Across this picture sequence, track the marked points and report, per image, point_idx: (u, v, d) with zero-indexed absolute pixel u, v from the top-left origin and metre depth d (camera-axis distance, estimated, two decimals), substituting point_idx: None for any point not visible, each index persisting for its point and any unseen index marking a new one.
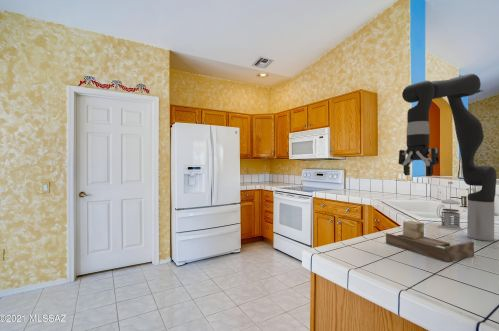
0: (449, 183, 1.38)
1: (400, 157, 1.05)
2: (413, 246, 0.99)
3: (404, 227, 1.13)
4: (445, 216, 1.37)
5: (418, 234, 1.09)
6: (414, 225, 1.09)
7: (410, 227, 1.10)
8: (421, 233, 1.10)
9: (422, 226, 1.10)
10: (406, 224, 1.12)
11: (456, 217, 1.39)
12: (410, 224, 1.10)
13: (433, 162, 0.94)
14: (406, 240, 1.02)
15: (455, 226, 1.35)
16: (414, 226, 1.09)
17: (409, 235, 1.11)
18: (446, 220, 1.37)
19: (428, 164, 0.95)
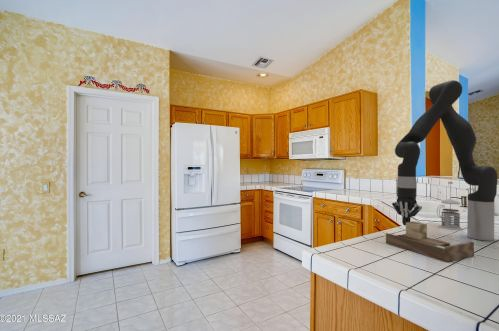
0: (449, 183, 1.38)
1: (396, 208, 1.18)
2: (413, 246, 0.99)
3: (407, 228, 1.12)
4: (445, 216, 1.37)
5: (421, 235, 1.08)
6: (417, 226, 1.07)
7: (413, 228, 1.09)
8: (424, 234, 1.09)
9: (425, 227, 1.09)
10: (409, 225, 1.11)
11: (456, 217, 1.39)
12: (413, 225, 1.09)
13: (410, 215, 1.12)
14: (406, 240, 1.02)
15: (455, 226, 1.35)
16: (417, 227, 1.08)
17: (412, 236, 1.09)
18: (446, 220, 1.37)
19: (406, 216, 1.14)
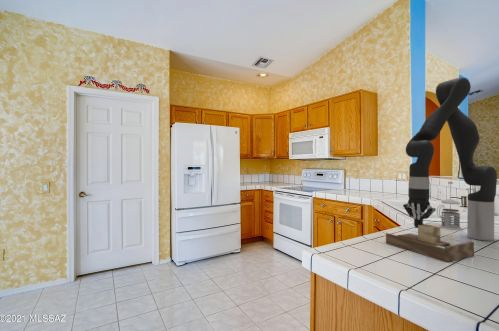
0: (449, 183, 1.38)
1: (407, 210, 1.13)
2: (413, 246, 0.99)
3: (419, 231, 1.06)
4: (445, 216, 1.37)
5: (434, 238, 1.03)
6: (430, 229, 1.02)
7: (426, 231, 1.04)
8: (437, 237, 1.03)
9: (438, 230, 1.04)
10: (421, 228, 1.06)
11: (456, 217, 1.39)
12: (426, 228, 1.04)
13: (423, 217, 1.07)
14: (406, 240, 1.02)
15: (455, 226, 1.35)
16: (430, 230, 1.02)
17: (425, 239, 1.04)
18: (446, 220, 1.37)
19: (418, 218, 1.08)
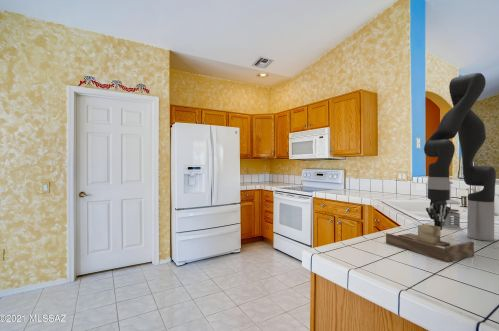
0: None
1: None
2: (413, 246, 0.99)
3: (419, 231, 1.06)
4: None
5: (434, 238, 1.03)
6: (430, 229, 1.02)
7: (426, 231, 1.04)
8: (437, 237, 1.03)
9: (438, 230, 1.04)
10: (421, 228, 1.05)
11: (456, 217, 1.39)
12: (426, 228, 1.04)
13: None
14: (406, 240, 1.02)
15: (455, 226, 1.35)
16: (430, 230, 1.02)
17: (425, 239, 1.04)
18: (446, 220, 1.37)
19: None
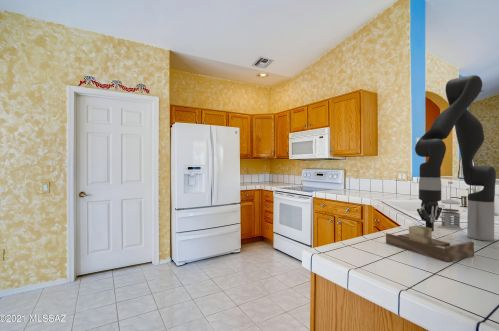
0: (449, 183, 1.38)
1: None
2: (413, 246, 0.99)
3: (410, 232, 1.04)
4: (445, 216, 1.37)
5: (425, 240, 1.00)
6: (421, 230, 1.00)
7: (417, 232, 1.02)
8: (429, 239, 1.01)
9: (429, 232, 1.01)
10: (412, 229, 1.03)
11: (456, 217, 1.39)
12: (417, 229, 1.02)
13: None
14: (406, 240, 1.02)
15: (455, 226, 1.35)
16: (421, 231, 1.00)
17: None
18: (446, 220, 1.37)
19: None
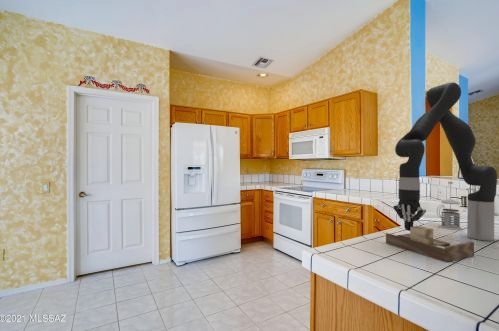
0: (449, 183, 1.38)
1: (398, 212, 1.09)
2: (413, 246, 0.99)
3: (411, 233, 1.03)
4: (445, 216, 1.37)
5: (427, 240, 0.99)
6: (422, 231, 0.99)
7: (418, 233, 1.01)
8: (430, 240, 1.00)
9: (431, 232, 1.00)
10: (414, 230, 1.02)
11: (456, 217, 1.39)
12: (418, 230, 1.01)
13: (413, 219, 1.03)
14: (406, 240, 1.02)
15: (455, 226, 1.35)
16: (422, 232, 0.99)
17: None
18: (446, 220, 1.37)
19: (408, 220, 1.05)
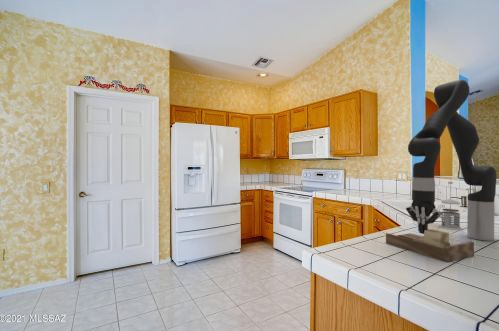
0: (449, 183, 1.38)
1: (411, 214, 1.04)
2: (413, 246, 0.99)
3: (425, 237, 0.98)
4: (445, 216, 1.37)
5: (442, 245, 0.94)
6: (438, 235, 0.94)
7: (433, 237, 0.95)
8: (446, 244, 0.95)
9: (447, 236, 0.95)
10: (428, 233, 0.97)
11: (456, 217, 1.39)
12: (433, 233, 0.95)
13: (427, 222, 0.98)
14: (406, 240, 1.02)
15: (455, 226, 1.35)
16: (438, 236, 0.94)
17: None
18: (446, 220, 1.37)
19: (423, 223, 0.99)
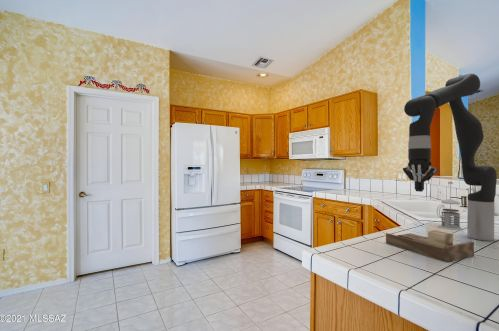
0: (449, 183, 1.38)
1: (407, 173, 1.05)
2: (413, 246, 0.99)
3: (429, 238, 0.96)
4: (445, 216, 1.37)
5: None
6: (442, 236, 0.92)
7: (437, 238, 0.94)
8: (450, 245, 0.94)
9: (451, 237, 0.94)
10: (432, 234, 0.96)
11: (456, 217, 1.39)
12: (437, 234, 0.94)
13: (424, 179, 0.99)
14: (406, 240, 1.02)
15: (455, 226, 1.35)
16: (442, 237, 0.92)
17: None
18: (446, 220, 1.37)
19: (419, 180, 1.01)
